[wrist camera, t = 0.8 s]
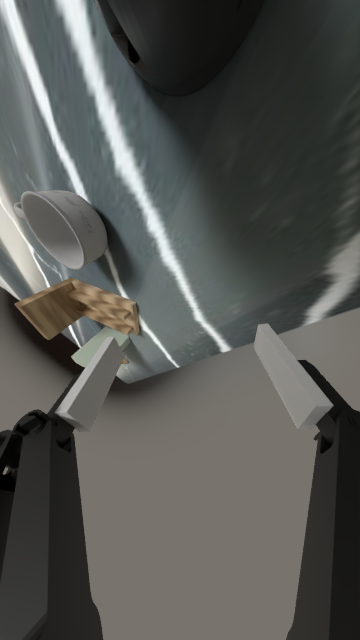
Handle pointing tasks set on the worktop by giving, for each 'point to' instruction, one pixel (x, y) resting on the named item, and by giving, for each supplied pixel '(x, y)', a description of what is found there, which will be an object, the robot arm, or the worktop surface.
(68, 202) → the teacup
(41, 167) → the worktop surface
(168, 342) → the worktop surface
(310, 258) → the worktop surface
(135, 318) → the track
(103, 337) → the pale green block
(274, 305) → the worktop surface
